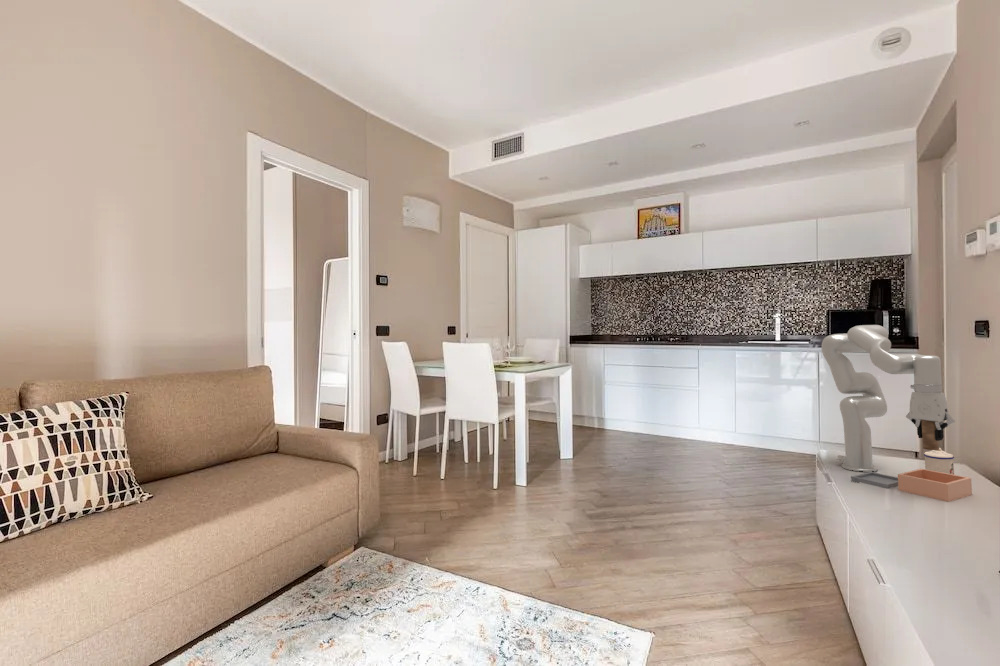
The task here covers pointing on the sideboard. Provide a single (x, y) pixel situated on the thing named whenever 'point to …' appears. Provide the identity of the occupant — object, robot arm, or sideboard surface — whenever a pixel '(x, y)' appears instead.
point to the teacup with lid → (939, 461)
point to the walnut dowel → (929, 435)
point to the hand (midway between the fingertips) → (930, 438)
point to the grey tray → (876, 479)
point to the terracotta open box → (935, 484)
